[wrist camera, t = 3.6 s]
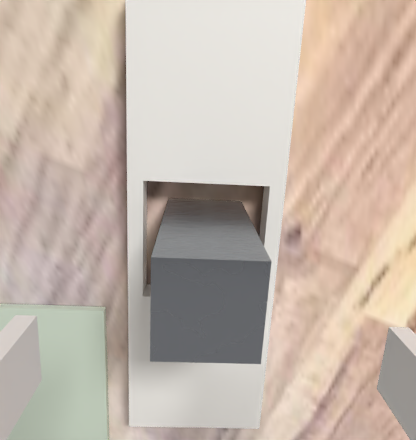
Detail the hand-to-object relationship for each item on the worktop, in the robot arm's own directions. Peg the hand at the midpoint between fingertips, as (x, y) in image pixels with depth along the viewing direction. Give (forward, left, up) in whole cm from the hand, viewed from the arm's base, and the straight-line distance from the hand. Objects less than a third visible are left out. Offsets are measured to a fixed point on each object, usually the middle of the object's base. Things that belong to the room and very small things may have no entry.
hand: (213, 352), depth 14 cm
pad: (-14, -13, -13) cm, 23 cm away
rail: (0, 0, -13) cm, 13 cm away
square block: (0, 0, -13) cm, 13 cm away
